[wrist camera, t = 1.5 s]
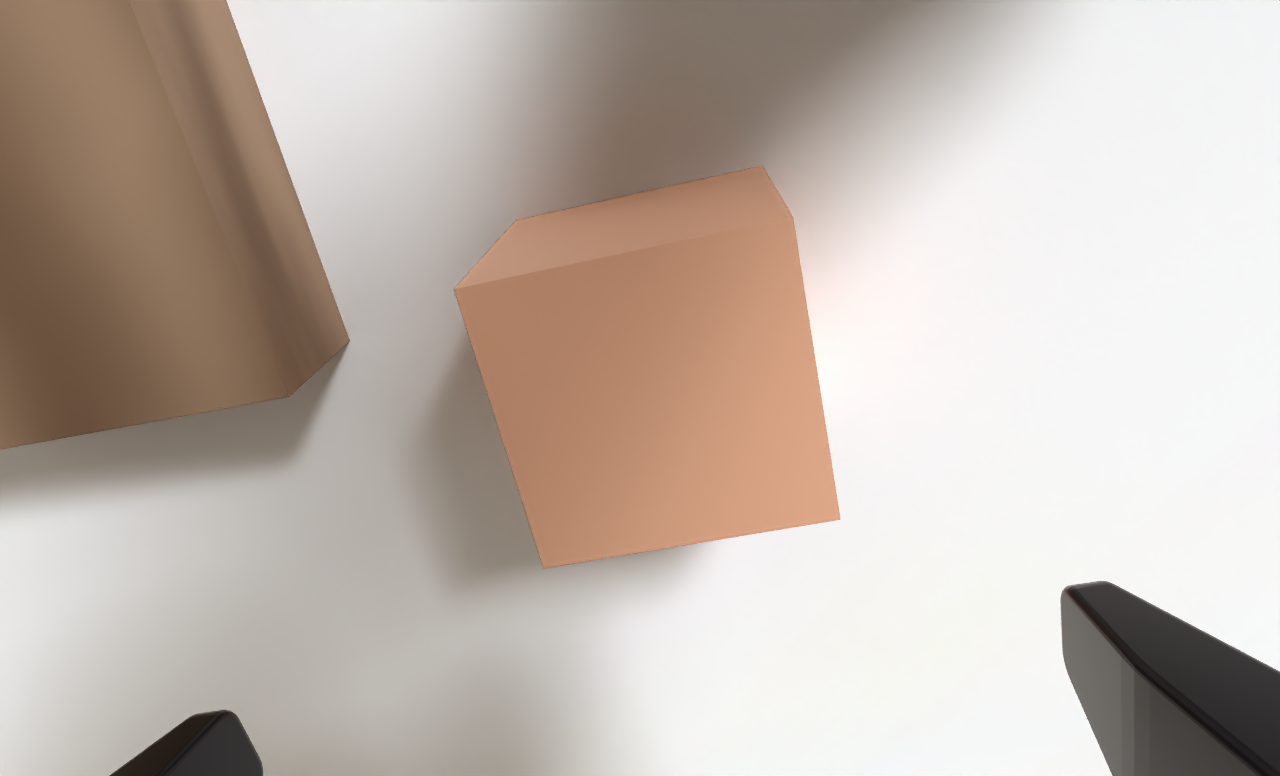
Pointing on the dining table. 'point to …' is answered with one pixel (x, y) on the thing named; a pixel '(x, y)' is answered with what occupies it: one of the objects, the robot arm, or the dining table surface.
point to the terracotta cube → (654, 369)
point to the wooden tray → (145, 223)
